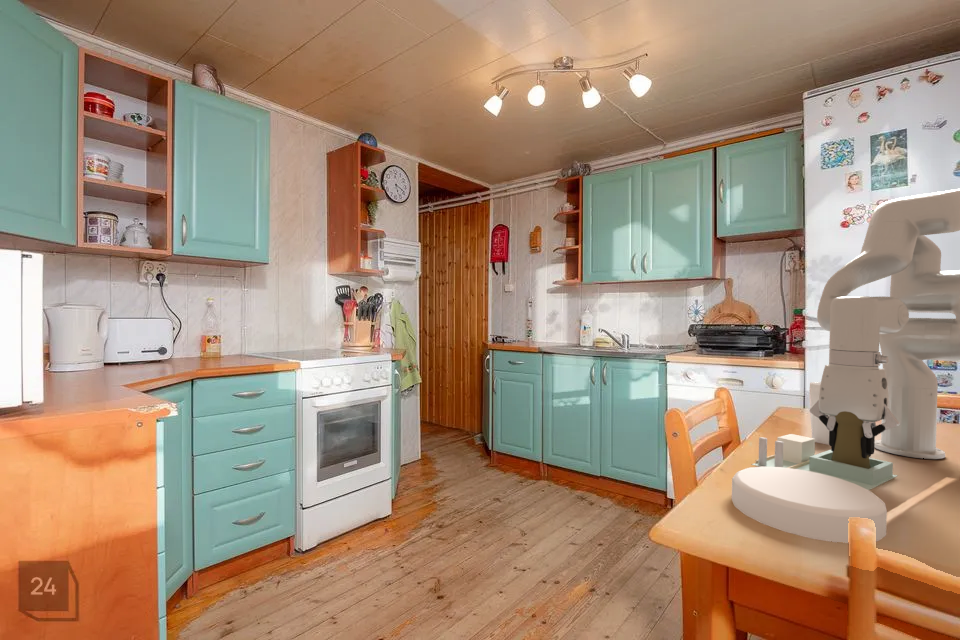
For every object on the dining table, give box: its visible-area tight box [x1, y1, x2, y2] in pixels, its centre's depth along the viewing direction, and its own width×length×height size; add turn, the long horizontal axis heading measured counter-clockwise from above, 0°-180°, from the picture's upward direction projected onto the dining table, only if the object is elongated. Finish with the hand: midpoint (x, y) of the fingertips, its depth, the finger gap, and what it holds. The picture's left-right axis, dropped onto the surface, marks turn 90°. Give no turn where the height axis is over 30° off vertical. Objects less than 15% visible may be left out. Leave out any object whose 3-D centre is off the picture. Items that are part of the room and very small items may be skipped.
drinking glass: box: [808, 381, 830, 446], centre depth 114 cm, size 7×7×15 cm
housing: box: [776, 433, 816, 464], centre depth 98 cm, size 6×5×4 cm
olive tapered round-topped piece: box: [832, 411, 871, 469], centre depth 90 cm, size 6×6×11 cm
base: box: [751, 436, 898, 491], centre depth 91 cm, size 18×18×7 cm
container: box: [731, 466, 888, 544], centre depth 73 cm, size 20×20×5 cm
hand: (850, 452), depth 90 cm, fingers closed on olive tapered round-topped piece, 4 cm apart
